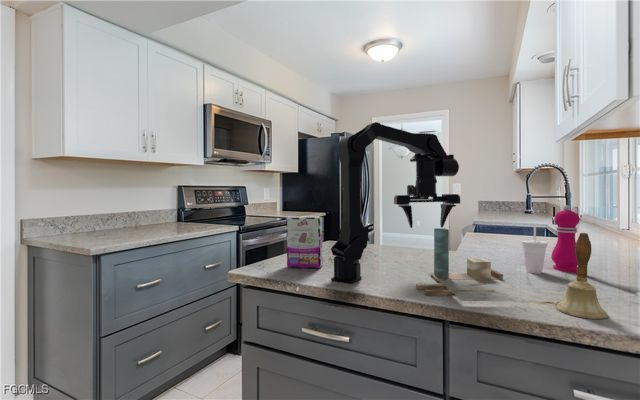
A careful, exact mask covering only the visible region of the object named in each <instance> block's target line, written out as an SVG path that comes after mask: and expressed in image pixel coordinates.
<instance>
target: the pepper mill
mask: <svg viewBox="0 0 640 400" xmlns="http://www.w3.org/2000/svg"><path fill="white" fill-rule="evenodd" d="M562 209H563V210H559V211H558V212H556V213H555V215H554V217H553V218H554V219H553V220H554V223H555V224H556V225H557V226H555V227H556V230H555V231H556V232H557V240H556V243H555V246H554V248H553V250H552V251H551V257H550V258H551V260H552V261H553V263H554V264H553V265H552V268H553V270H556V271H559V272H560V271H561V272H565V273H566V272H568V273H571V274H575V275H577V269H578V262H577V258H576V254H575V245H576V242H577V241H576V233H578V227H577V226H578V224H580V216H579V214H578V213H577V212H575V211H573V210H571V206H570V205H569V204H566V205H564V206H563V207H562Z"/></svg>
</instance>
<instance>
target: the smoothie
mask: <svg viewBox="0 0 640 400" xmlns="http://www.w3.org/2000/svg"><path fill="white" fill-rule="evenodd" d="M521 245H522V251H523V259H524V266H525V272H527V273H530V274H531V273H532V274H542V273H543V267H544V263H545V258H546V250H547V247H548V242H547V241H544V240H537V227H536V226H533V239H525V240H521Z"/></svg>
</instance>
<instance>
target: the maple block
mask: <svg viewBox="0 0 640 400" xmlns="http://www.w3.org/2000/svg"><path fill="white" fill-rule="evenodd" d="M491 269H492V262H491V261H490V260H488V259H486V258H482V257H481V258H479V257H477V258H476V257H475V258H472V257H471V258H466V273H467V275H469V276H470V277H472V278H473V279H491Z"/></svg>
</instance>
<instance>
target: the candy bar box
mask: <svg viewBox="0 0 640 400" xmlns="http://www.w3.org/2000/svg"><path fill="white" fill-rule="evenodd" d="M285 221H286V268H288V269H289V268H290V269H321V268H322V267H323V265H324V264H323V263H324V258H323V257H324V256H323V255H324V254H323V252H324V251H323V217H322V216H319V215H318V216H317V215H316V216H315V215H314V216H313V215H312V216H310V215H309V216H306V215H305V216H288V217H286V219H285Z"/></svg>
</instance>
